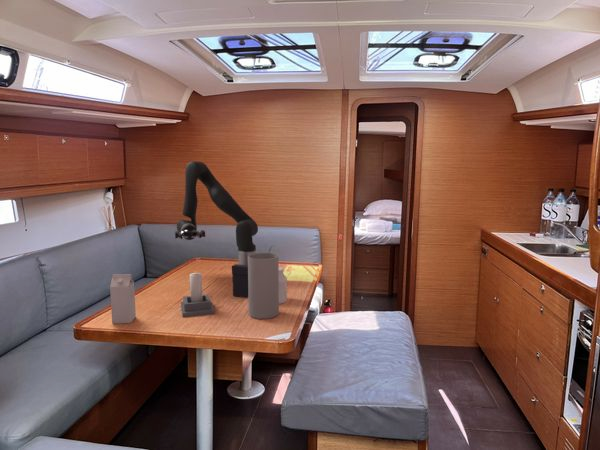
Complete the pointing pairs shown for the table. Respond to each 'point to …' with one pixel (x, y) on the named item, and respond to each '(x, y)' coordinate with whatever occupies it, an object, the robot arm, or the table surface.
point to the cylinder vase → (263, 285)
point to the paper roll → (196, 287)
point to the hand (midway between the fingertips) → (191, 236)
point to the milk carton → (122, 298)
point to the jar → (282, 286)
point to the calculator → (240, 280)
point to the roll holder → (196, 307)
